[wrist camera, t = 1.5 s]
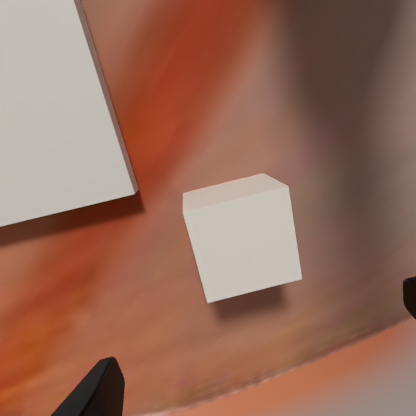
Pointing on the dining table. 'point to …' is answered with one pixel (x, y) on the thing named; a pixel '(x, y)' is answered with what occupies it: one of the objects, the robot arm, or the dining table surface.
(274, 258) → the off-white brick
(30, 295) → the dining table surface
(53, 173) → the baseplate
